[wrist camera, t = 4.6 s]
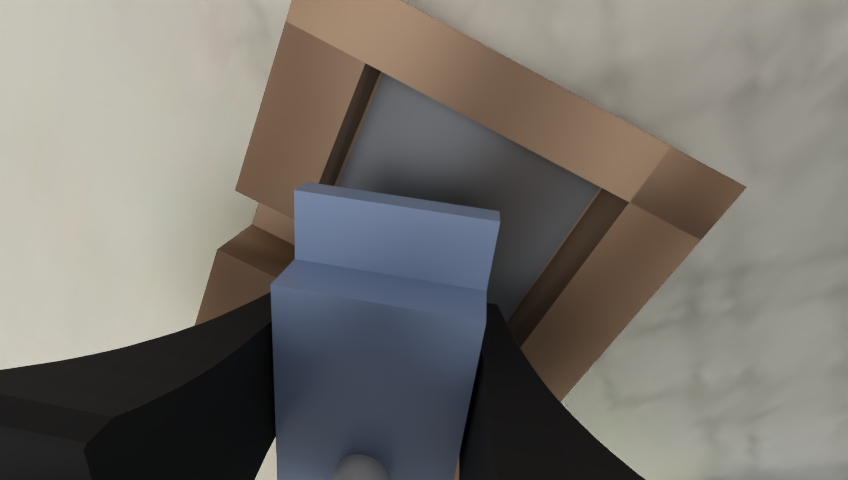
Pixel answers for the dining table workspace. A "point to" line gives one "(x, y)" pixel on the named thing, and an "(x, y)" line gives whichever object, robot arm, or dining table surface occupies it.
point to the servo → (378, 334)
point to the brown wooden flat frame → (470, 173)
